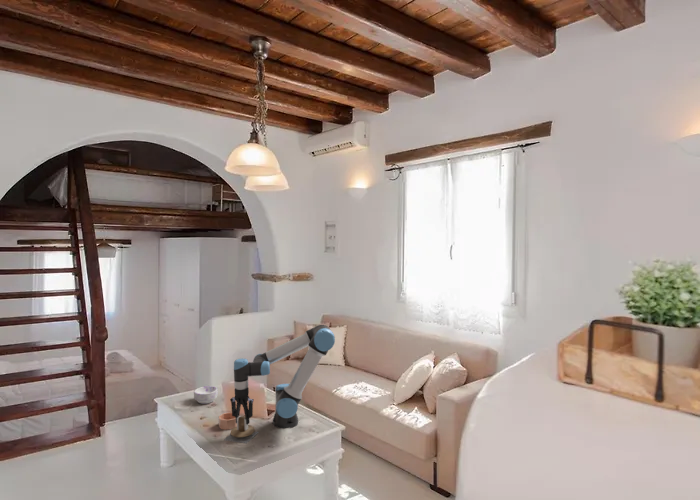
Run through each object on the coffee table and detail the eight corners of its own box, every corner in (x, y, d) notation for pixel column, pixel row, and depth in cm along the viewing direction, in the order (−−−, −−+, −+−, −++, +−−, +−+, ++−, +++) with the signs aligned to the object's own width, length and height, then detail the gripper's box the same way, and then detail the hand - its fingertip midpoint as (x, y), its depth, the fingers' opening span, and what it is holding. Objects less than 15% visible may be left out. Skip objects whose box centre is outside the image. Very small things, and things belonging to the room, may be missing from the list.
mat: (259, 433, 243) (259, 432, 243) (246, 444, 229) (246, 443, 229) (237, 430, 247) (237, 428, 247) (223, 441, 233) (223, 439, 233)
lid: (259, 427, 243) (258, 413, 242) (247, 438, 230) (247, 423, 230) (238, 425, 246) (238, 411, 246) (226, 435, 234) (225, 421, 233)
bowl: (242, 423, 255) (242, 413, 255) (232, 431, 245) (232, 421, 245) (225, 421, 258) (225, 411, 258) (215, 429, 248) (215, 418, 248)
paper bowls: (190, 405, 283) (190, 393, 283) (199, 397, 298) (199, 385, 298) (213, 405, 282) (213, 393, 282) (220, 397, 297) (220, 386, 297)
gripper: (258, 386, 239) (259, 427, 239) (231, 384, 243) (232, 424, 244) (252, 391, 231) (253, 433, 232) (224, 388, 236) (225, 430, 237)
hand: (242, 429), depth 238 cm, fingers closed on lid, 4 cm apart
